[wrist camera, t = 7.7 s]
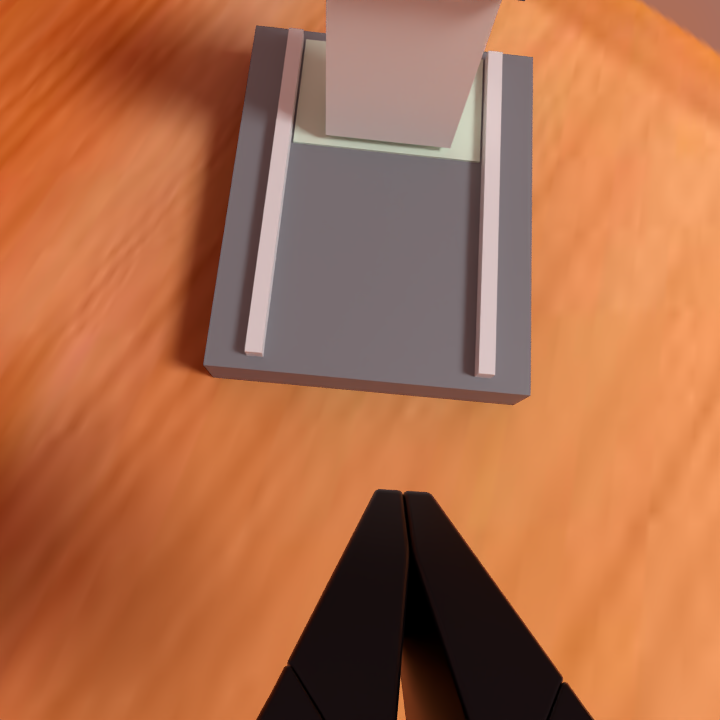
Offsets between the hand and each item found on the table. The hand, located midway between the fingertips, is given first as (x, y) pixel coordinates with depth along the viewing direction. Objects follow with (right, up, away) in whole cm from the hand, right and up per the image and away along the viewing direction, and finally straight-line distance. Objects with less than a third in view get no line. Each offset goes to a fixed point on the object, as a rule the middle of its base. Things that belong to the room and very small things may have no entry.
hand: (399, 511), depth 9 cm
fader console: (0, +8, +16) cm, 18 cm away
